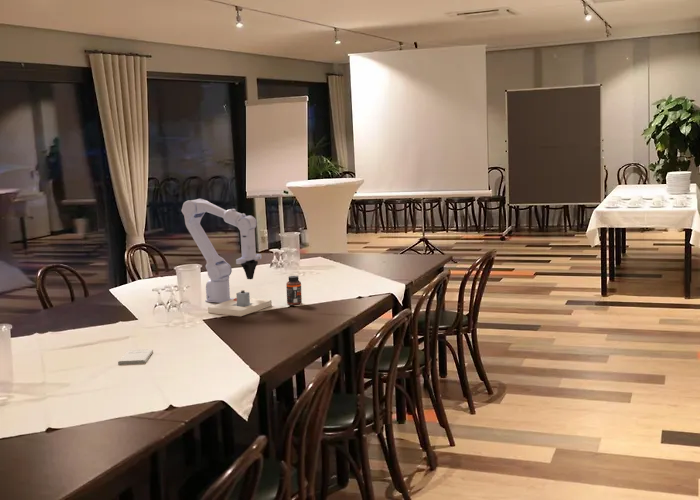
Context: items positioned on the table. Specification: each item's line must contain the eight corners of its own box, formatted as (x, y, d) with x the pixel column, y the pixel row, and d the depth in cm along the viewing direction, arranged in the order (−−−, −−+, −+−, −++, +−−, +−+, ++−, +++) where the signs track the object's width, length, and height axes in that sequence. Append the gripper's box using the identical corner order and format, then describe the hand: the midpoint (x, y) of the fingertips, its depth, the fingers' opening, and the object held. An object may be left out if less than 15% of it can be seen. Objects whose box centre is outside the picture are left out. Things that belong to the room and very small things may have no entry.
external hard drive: (118, 366, 236) (127, 354, 248) (145, 365, 236) (153, 353, 248) (117, 361, 236) (127, 349, 248) (145, 359, 236) (153, 348, 248)
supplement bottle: (299, 305, 309) (298, 277, 307) (285, 305, 310) (284, 277, 308) (303, 302, 314) (302, 275, 313) (289, 302, 316) (288, 275, 314)
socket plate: (208, 312, 302) (207, 305, 301) (240, 302, 319) (239, 295, 318) (240, 316, 294) (240, 308, 293) (271, 305, 311) (271, 298, 310)
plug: (237, 310, 304) (236, 291, 303) (242, 308, 306) (241, 289, 305) (245, 311, 302) (244, 291, 301) (250, 309, 304) (249, 290, 303)
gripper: (245, 249, 305) (246, 282, 307) (266, 243, 318) (268, 276, 320) (231, 248, 309) (232, 281, 311) (253, 243, 321) (254, 275, 323)
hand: (250, 279), depth 315 cm, fingers closed
